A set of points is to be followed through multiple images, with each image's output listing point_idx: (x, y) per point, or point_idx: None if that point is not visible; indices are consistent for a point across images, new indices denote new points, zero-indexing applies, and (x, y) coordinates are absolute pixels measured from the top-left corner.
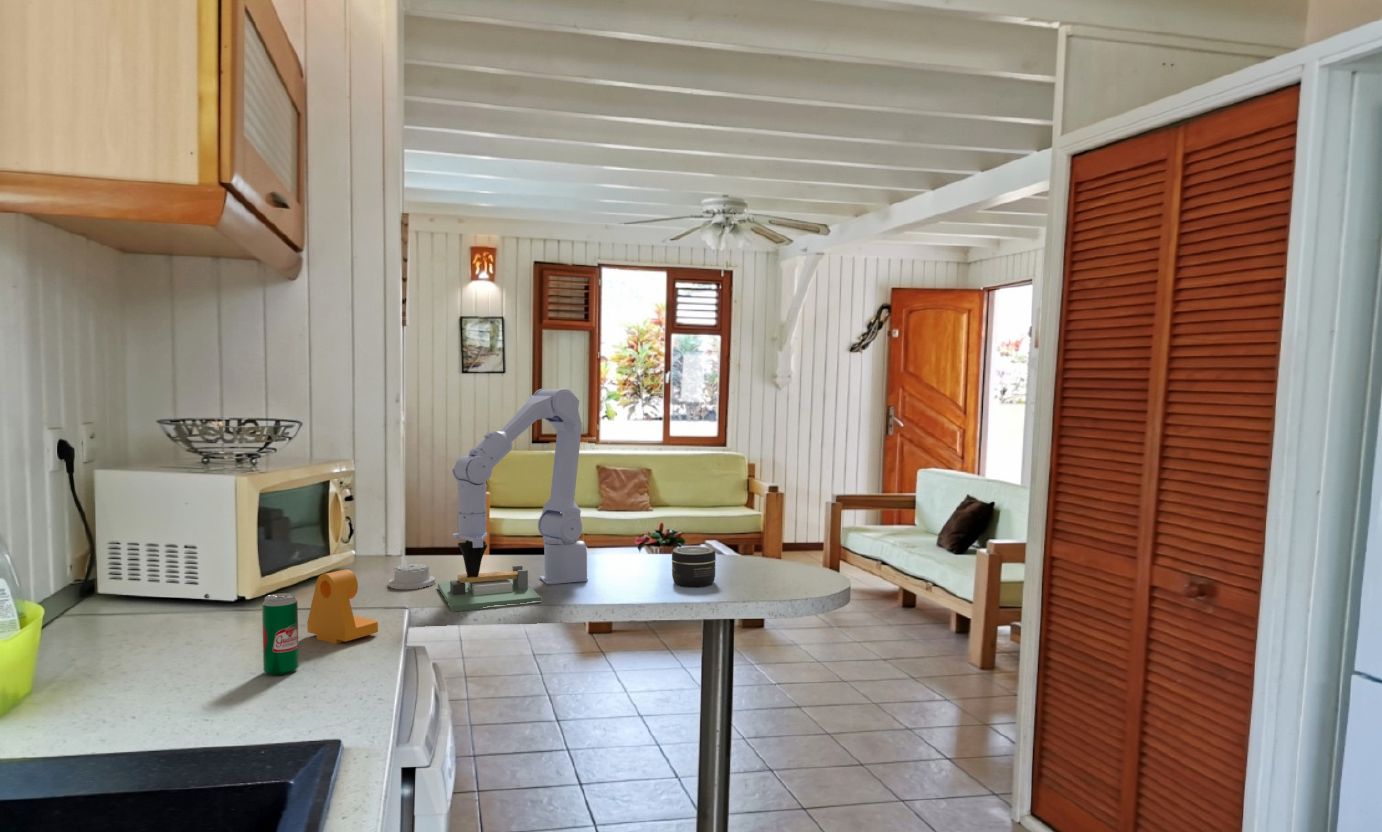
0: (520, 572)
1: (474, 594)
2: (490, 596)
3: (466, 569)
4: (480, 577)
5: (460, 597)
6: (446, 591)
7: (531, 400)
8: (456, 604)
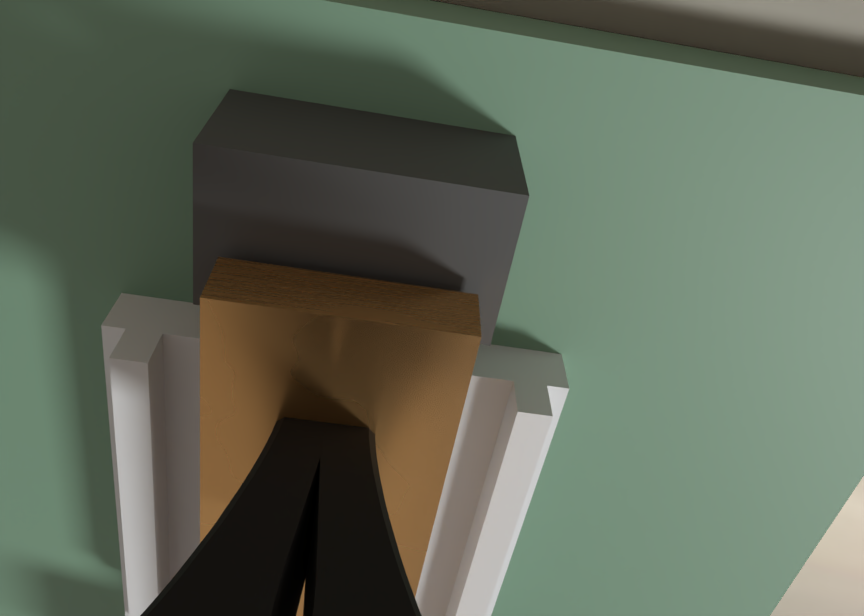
0: None
1: (121, 302)
2: (4, 402)
3: (268, 481)
4: (202, 512)
5: (68, 132)
6: (509, 79)
7: None
8: None
